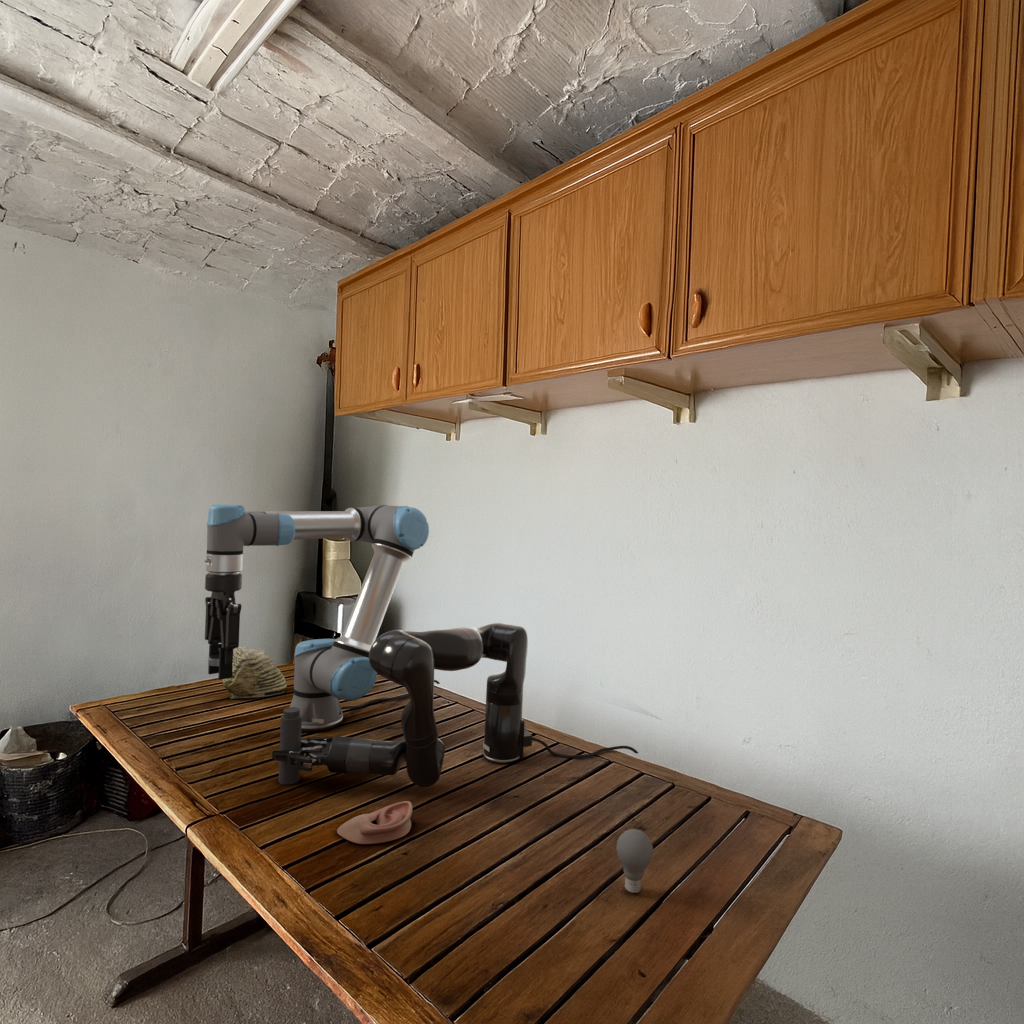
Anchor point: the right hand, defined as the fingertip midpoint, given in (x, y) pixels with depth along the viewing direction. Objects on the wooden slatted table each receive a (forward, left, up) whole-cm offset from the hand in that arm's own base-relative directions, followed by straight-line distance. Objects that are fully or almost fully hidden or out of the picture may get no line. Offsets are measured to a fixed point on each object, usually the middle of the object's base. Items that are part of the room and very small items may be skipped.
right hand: (278, 750), depth 141 cm
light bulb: (-55, +59, -7) cm, 81 cm away
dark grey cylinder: (-2, +1, -7) cm, 7 cm away
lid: (+13, -7, +19) cm, 24 cm away
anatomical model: (-17, +28, -7) cm, 33 cm away
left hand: (+13, -7, +15) cm, 21 cm away
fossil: (+6, -64, -7) cm, 64 cm away
